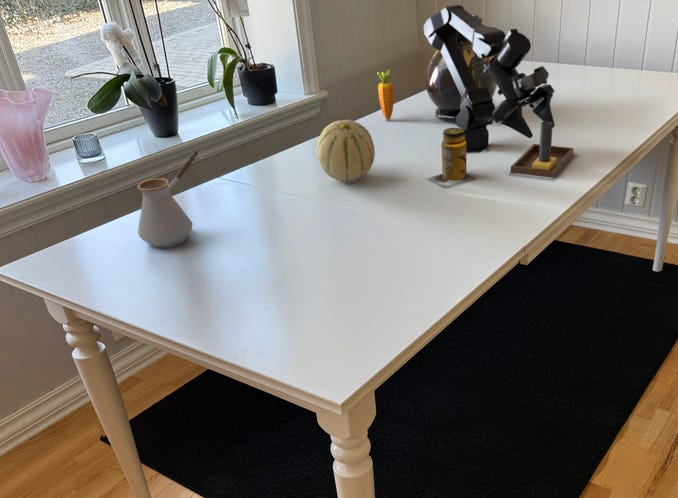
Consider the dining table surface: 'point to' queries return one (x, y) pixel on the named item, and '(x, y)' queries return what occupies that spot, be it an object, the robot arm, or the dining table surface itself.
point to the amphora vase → (443, 83)
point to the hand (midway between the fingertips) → (542, 132)
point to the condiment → (452, 156)
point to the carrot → (386, 94)
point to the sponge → (545, 149)
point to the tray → (532, 154)
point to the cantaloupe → (345, 150)
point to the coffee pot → (163, 212)
